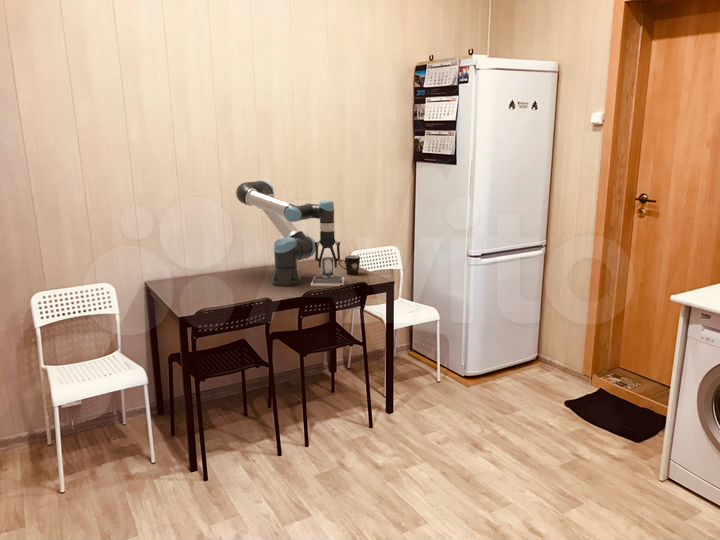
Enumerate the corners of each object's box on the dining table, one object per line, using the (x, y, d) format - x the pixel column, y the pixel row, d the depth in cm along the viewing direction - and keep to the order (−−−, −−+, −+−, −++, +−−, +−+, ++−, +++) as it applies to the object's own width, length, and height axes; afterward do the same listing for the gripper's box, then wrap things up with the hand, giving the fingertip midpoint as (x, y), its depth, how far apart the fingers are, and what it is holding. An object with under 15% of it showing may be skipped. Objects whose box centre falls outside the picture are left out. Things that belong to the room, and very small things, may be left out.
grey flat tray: (310, 285, 299) (310, 281, 298) (313, 278, 315) (313, 274, 314) (343, 285, 299) (342, 281, 298) (344, 278, 314) (344, 274, 314)
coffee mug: (360, 272, 328) (360, 255, 326) (359, 275, 320) (359, 258, 318) (340, 271, 329) (340, 254, 327) (338, 275, 321) (338, 258, 319)
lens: (322, 278, 303) (321, 259, 301) (323, 275, 309) (322, 257, 306) (333, 278, 303) (332, 259, 301) (333, 275, 309) (333, 257, 306)
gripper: (308, 231, 297) (309, 275, 302) (344, 231, 296) (345, 275, 302) (310, 229, 304) (311, 271, 309) (345, 229, 304) (345, 271, 309)
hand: (328, 273), depth 305 cm, fingers closed on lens, 6 cm apart
